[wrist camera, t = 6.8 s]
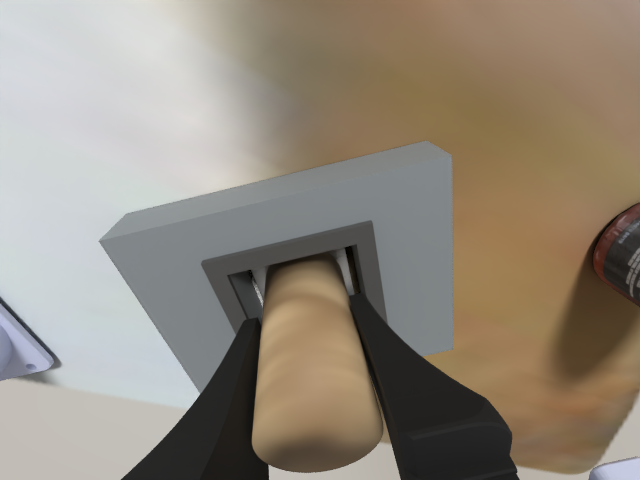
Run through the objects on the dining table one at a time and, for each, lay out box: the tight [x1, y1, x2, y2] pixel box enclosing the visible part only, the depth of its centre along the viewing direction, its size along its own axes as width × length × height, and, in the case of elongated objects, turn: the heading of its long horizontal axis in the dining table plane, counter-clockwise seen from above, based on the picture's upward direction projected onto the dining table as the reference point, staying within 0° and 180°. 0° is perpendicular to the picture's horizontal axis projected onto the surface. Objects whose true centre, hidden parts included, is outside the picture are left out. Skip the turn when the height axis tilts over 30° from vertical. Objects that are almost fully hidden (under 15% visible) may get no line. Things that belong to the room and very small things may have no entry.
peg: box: [252, 252, 384, 473], centre depth 13 cm, size 4×4×8 cm
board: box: [99, 141, 453, 394], centre depth 16 cm, size 14×11×3 cm
